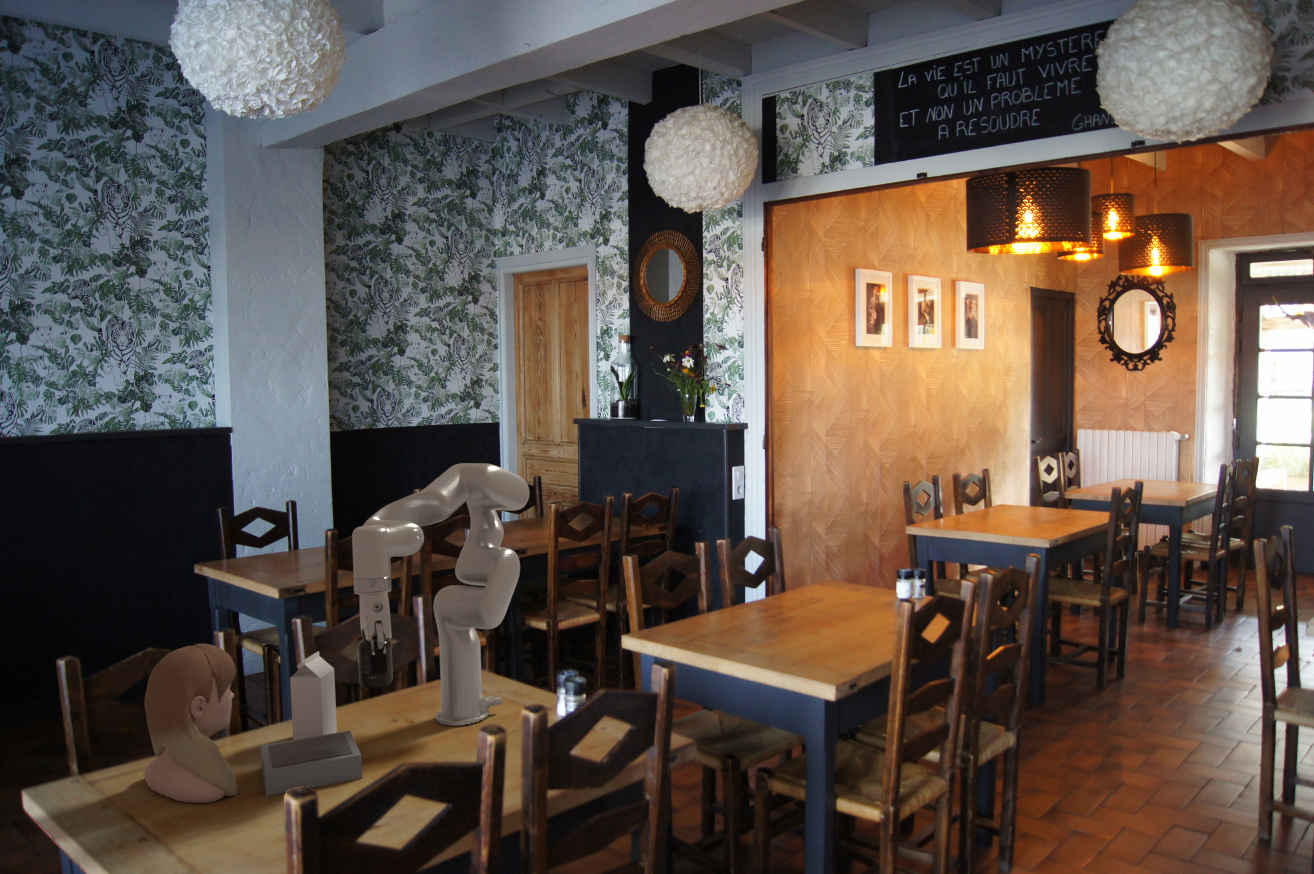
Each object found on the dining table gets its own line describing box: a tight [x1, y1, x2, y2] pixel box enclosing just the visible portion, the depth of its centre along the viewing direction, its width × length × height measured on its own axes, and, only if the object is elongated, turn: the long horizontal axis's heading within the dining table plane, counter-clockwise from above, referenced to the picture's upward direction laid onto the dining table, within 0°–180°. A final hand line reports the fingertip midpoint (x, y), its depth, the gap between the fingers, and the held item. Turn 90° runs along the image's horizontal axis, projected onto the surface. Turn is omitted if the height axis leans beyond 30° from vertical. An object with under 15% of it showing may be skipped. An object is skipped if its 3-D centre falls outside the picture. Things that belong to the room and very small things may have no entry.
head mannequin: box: [143, 643, 239, 804], centre depth 191 cm, size 25×17×28 cm
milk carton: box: [289, 651, 338, 740], centre depth 216 cm, size 7×7×19 cm
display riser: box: [260, 730, 363, 797], centre depth 196 cm, size 18×16×5 cm
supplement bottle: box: [357, 628, 394, 689], centre depth 201 cm, size 7×7×12 cm
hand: (375, 667), depth 201 cm, fingers closed on supplement bottle, 6 cm apart
